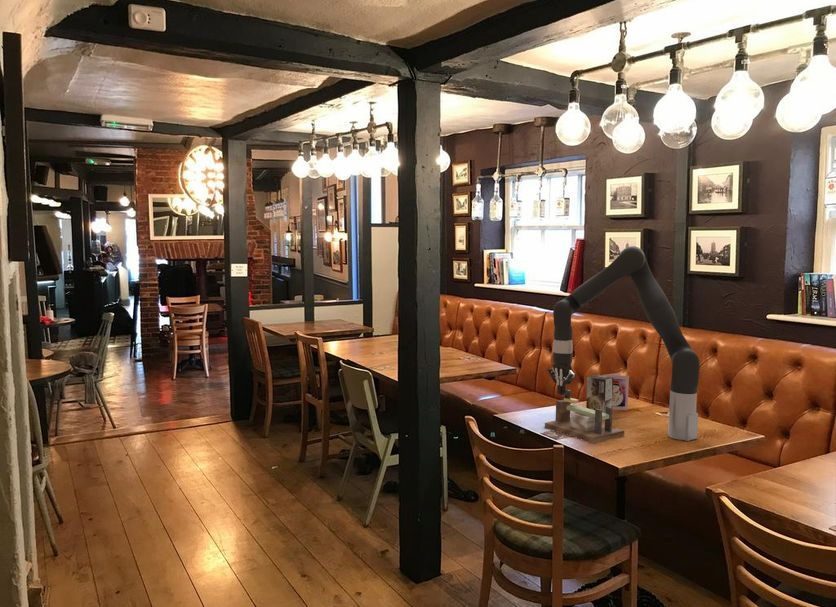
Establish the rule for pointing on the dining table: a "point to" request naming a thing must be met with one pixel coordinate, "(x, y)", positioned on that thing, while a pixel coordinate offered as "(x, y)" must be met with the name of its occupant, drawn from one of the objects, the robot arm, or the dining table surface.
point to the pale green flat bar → (585, 411)
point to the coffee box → (599, 392)
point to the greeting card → (620, 391)
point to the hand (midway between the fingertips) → (561, 394)
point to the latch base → (576, 432)
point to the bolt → (569, 397)
